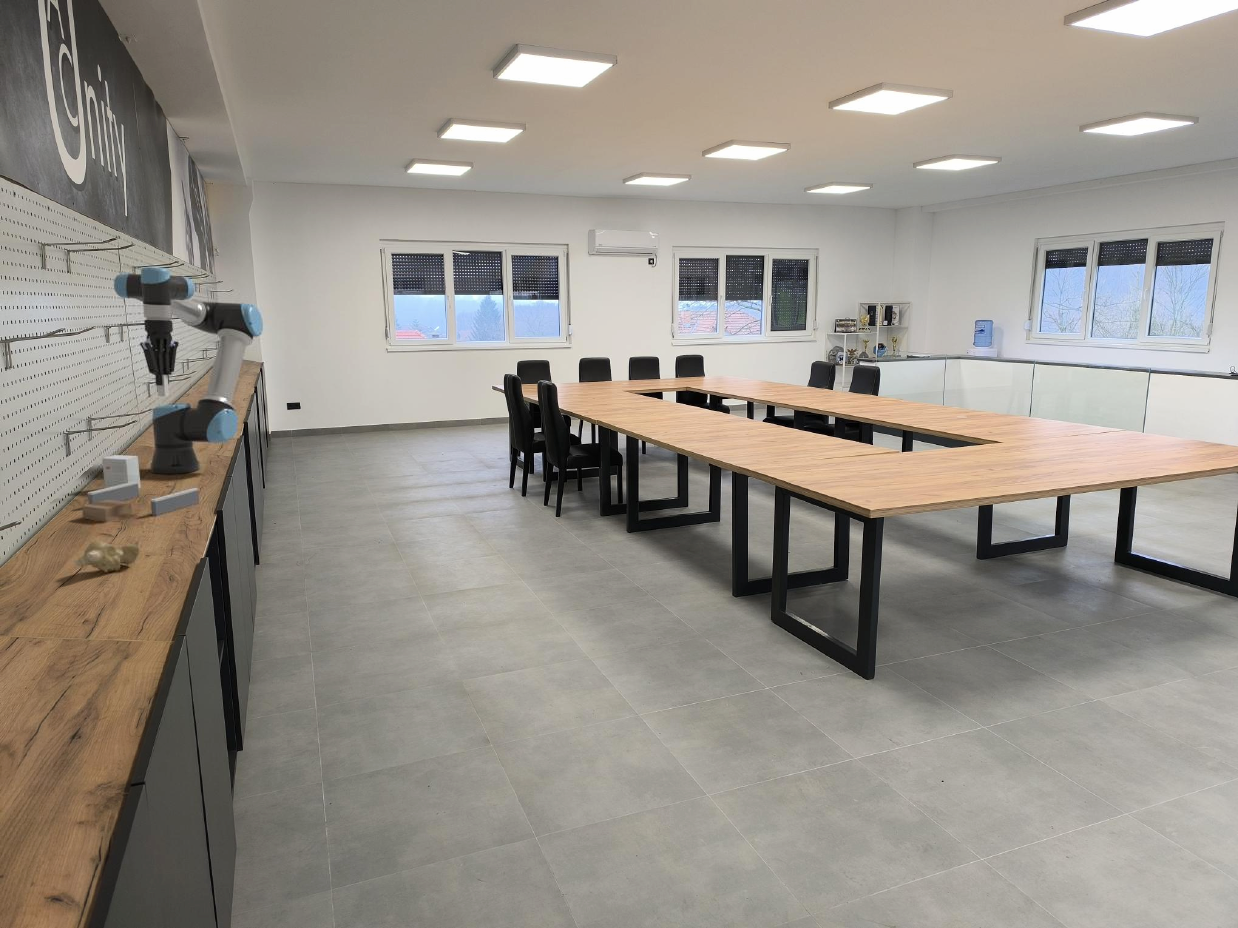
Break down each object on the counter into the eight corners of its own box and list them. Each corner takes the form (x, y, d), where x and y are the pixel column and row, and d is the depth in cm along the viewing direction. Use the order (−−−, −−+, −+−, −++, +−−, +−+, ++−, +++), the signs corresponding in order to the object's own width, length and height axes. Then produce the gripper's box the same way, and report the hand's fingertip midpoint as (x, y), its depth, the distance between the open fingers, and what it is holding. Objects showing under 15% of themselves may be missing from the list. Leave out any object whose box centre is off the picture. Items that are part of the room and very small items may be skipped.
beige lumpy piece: (145, 539, 182) (92, 536, 172) (145, 570, 181) (92, 570, 170) (122, 544, 186) (68, 542, 175) (121, 575, 184) (67, 574, 173)
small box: (141, 488, 253) (138, 456, 251) (128, 492, 248) (126, 459, 245) (117, 487, 254) (114, 454, 252) (104, 491, 248) (101, 457, 246)
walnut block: (109, 513, 225) (108, 499, 224) (132, 516, 223) (130, 502, 222) (83, 520, 217) (82, 505, 217) (106, 523, 215) (105, 509, 214)
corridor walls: (134, 495, 244) (133, 481, 243) (199, 503, 238) (198, 488, 237) (88, 507, 228) (87, 492, 228) (156, 516, 223) (155, 500, 222)
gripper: (164, 318, 253) (169, 393, 257) (130, 318, 240) (136, 397, 245) (184, 319, 251) (189, 394, 256) (151, 319, 239) (156, 398, 243)
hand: (163, 395), depth 250 cm, fingers closed
